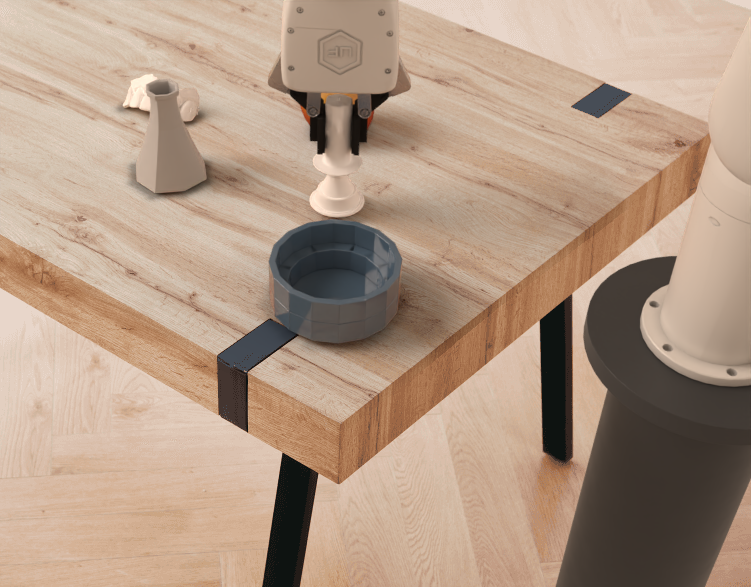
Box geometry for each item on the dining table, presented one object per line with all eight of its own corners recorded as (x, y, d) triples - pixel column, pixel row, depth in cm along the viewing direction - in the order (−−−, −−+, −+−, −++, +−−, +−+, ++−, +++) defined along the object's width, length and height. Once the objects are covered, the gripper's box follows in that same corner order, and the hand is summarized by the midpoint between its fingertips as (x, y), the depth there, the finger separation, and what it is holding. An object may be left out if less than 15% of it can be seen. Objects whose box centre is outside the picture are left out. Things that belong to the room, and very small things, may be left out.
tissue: (172, 134, 114) (169, 103, 111) (118, 109, 117) (113, 78, 114) (207, 112, 117) (205, 81, 115) (153, 88, 120) (150, 58, 118)
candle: (370, 214, 103) (375, 107, 95) (315, 221, 102) (316, 113, 94) (357, 182, 107) (361, 76, 99) (304, 188, 106) (304, 81, 98)
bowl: (420, 289, 97) (424, 246, 93) (358, 365, 89) (359, 321, 86) (314, 248, 100) (314, 205, 97) (246, 317, 93) (243, 273, 90)
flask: (124, 164, 109) (112, 77, 103) (191, 147, 112) (183, 61, 105) (149, 203, 105) (139, 114, 98) (218, 183, 107) (212, 96, 101)
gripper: (239, -25, 85) (248, 167, 97) (442, -18, 86) (426, 172, 98) (246, -64, 91) (254, 122, 103) (437, -58, 91) (422, 127, 103)
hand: (338, 145), depth 100 cm, fingers closed on candle, 2 cm apart
